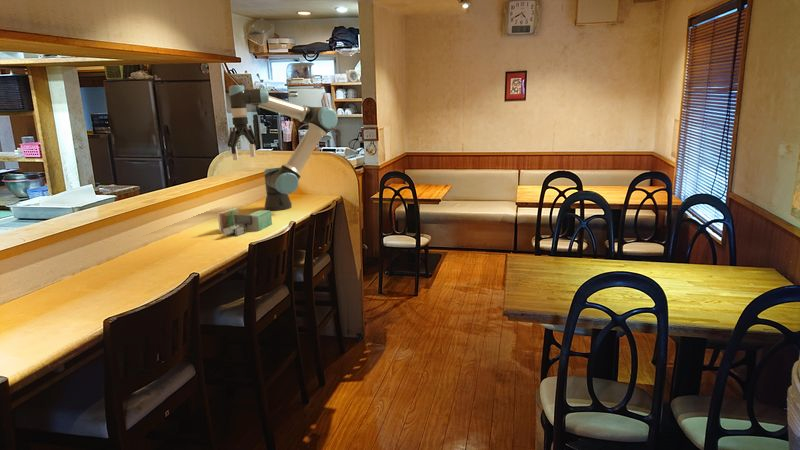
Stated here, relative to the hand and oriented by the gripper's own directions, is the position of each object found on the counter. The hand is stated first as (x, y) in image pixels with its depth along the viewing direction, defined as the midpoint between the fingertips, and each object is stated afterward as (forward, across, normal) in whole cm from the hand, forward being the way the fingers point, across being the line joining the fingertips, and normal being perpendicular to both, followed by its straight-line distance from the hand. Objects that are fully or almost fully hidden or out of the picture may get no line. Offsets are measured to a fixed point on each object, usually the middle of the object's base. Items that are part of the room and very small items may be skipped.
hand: (244, 158), depth 274 cm
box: (+32, +16, +18) cm, 40 cm away
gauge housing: (+32, +25, +12) cm, 42 cm away
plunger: (+30, +30, +14) cm, 45 cm away
